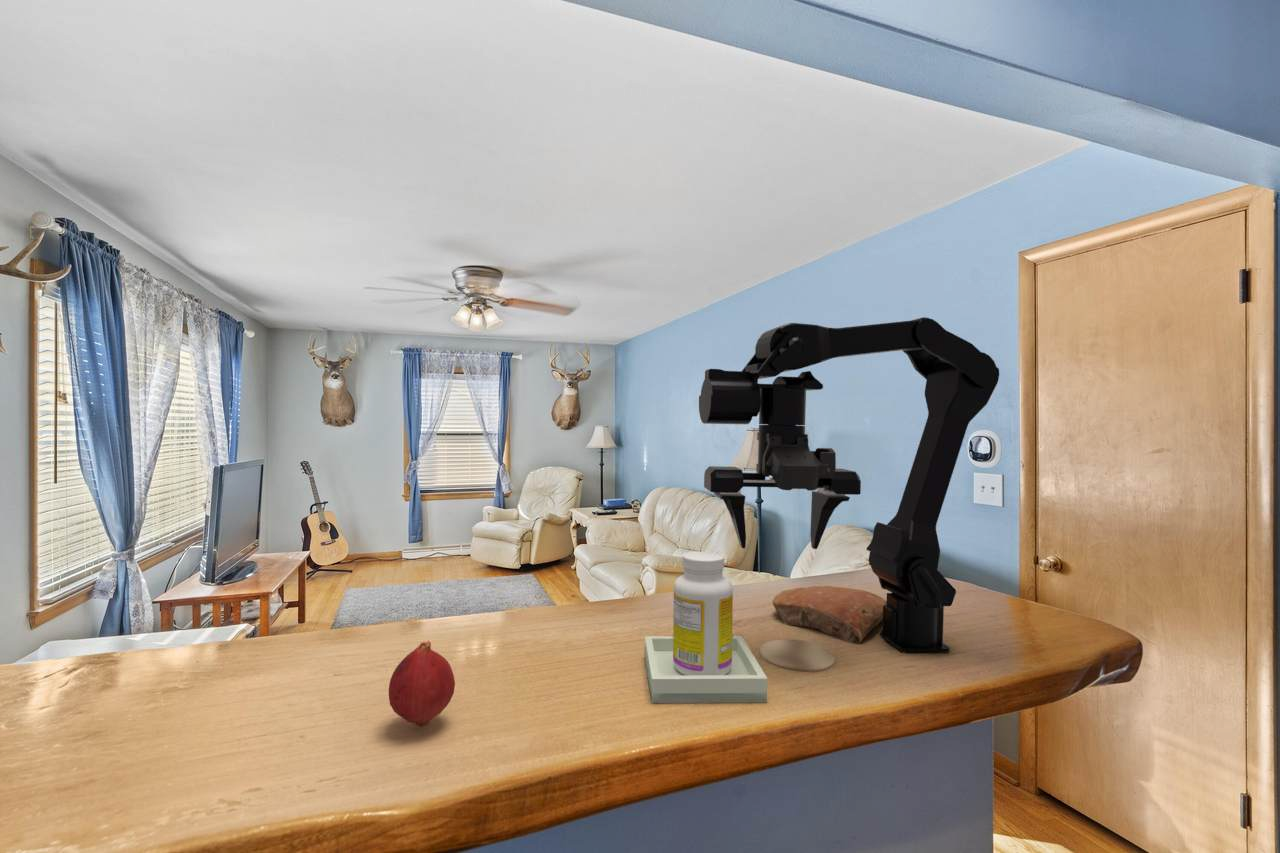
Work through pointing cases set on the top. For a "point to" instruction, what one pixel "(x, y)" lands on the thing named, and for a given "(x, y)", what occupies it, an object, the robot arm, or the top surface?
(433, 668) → the onion
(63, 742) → the top surface
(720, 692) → the tray
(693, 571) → the supplement bottle
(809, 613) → the ceramic shard
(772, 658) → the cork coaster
